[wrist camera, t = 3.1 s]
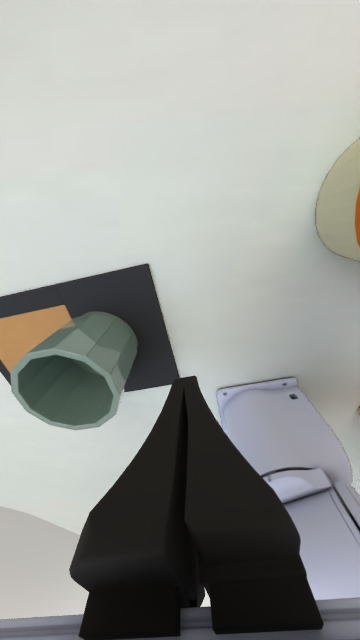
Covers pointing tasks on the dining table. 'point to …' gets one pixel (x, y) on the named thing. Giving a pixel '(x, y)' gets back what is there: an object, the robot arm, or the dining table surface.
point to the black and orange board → (87, 296)
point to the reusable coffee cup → (341, 205)
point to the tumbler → (77, 372)
